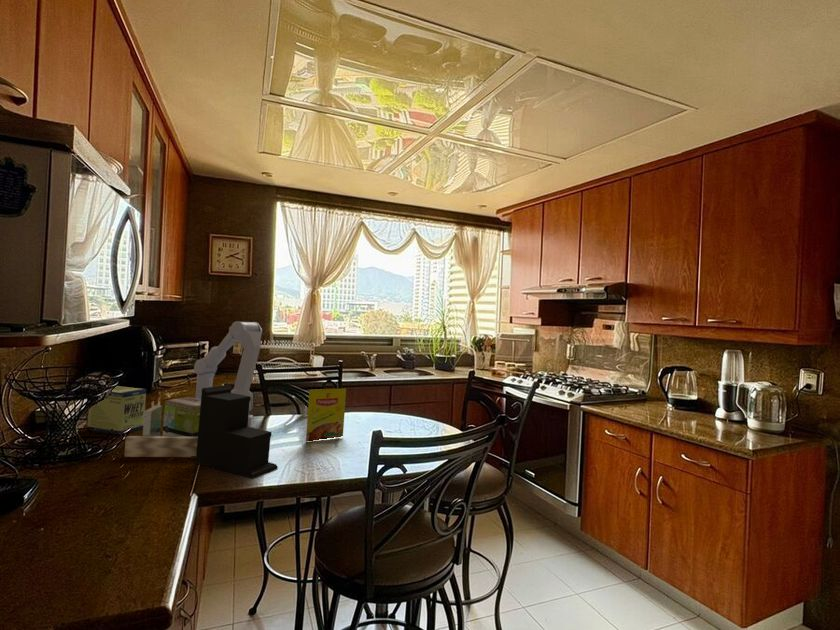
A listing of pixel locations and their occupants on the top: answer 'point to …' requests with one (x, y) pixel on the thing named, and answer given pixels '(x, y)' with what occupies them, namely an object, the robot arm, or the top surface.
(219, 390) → the black stepped block
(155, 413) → the small book
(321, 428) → the food package
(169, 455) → the shelf wall
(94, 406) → the protein box
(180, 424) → the tea box
